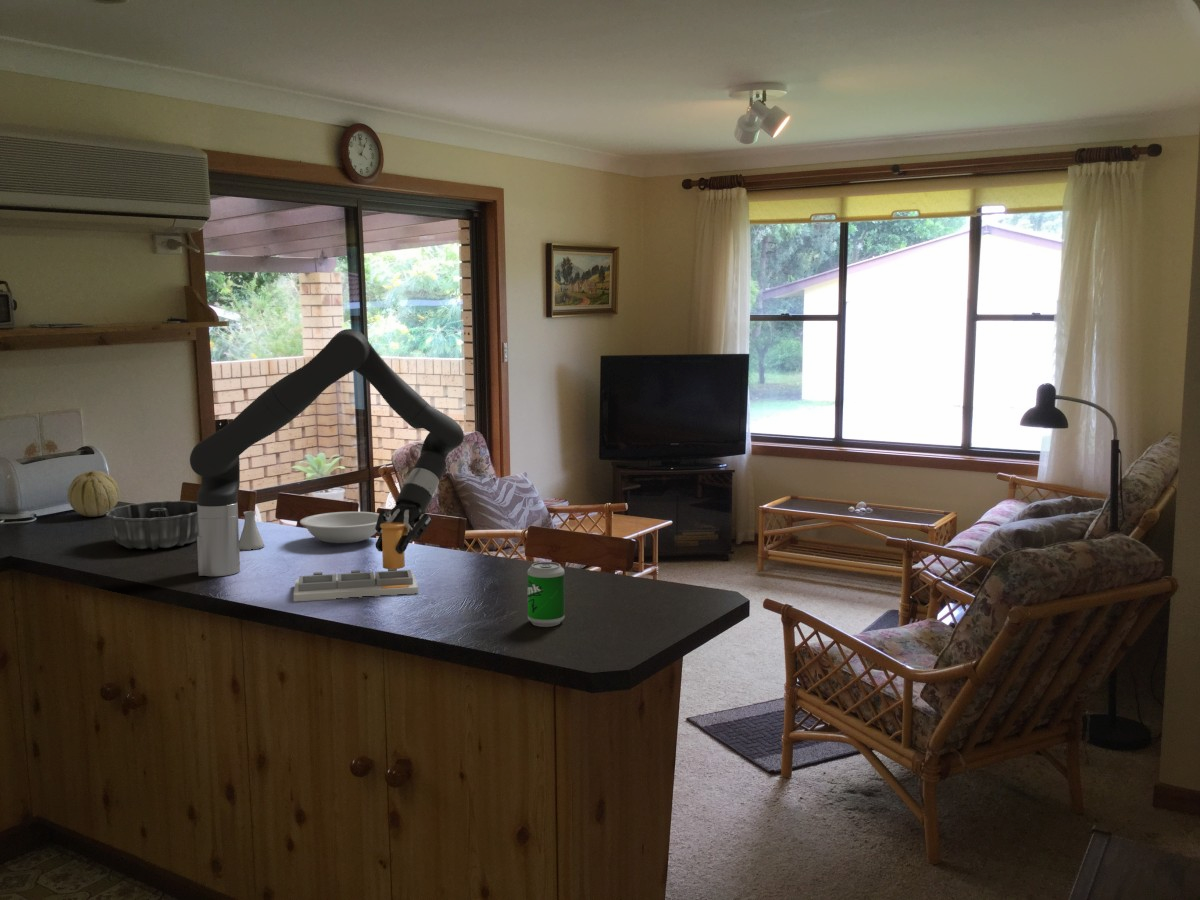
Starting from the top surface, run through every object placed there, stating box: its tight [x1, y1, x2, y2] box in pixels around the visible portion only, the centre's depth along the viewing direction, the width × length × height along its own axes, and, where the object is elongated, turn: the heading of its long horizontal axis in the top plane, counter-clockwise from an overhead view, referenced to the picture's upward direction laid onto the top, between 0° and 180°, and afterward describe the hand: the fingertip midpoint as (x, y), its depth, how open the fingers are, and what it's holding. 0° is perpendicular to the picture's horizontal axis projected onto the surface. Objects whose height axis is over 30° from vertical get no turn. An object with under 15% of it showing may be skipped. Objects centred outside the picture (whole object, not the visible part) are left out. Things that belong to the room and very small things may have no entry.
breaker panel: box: [293, 569, 419, 602], centre depth 227 cm, size 27×14×3 cm, turn 105°
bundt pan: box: [105, 500, 198, 551], centre depth 275 cm, size 26×26×10 cm
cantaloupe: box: [67, 470, 120, 518], centre depth 315 cm, size 15×15×15 cm
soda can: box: [526, 561, 566, 628], centre depth 201 cm, size 8×8×12 cm
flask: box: [239, 510, 265, 551], centre depth 270 cm, size 7×7×10 cm
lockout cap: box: [380, 522, 406, 570], centre depth 228 cm, size 6×6×10 cm
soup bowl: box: [299, 511, 380, 544], centre depth 279 cm, size 24×24×7 cm
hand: (388, 550), depth 227 cm, fingers closed on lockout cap, 5 cm apart
